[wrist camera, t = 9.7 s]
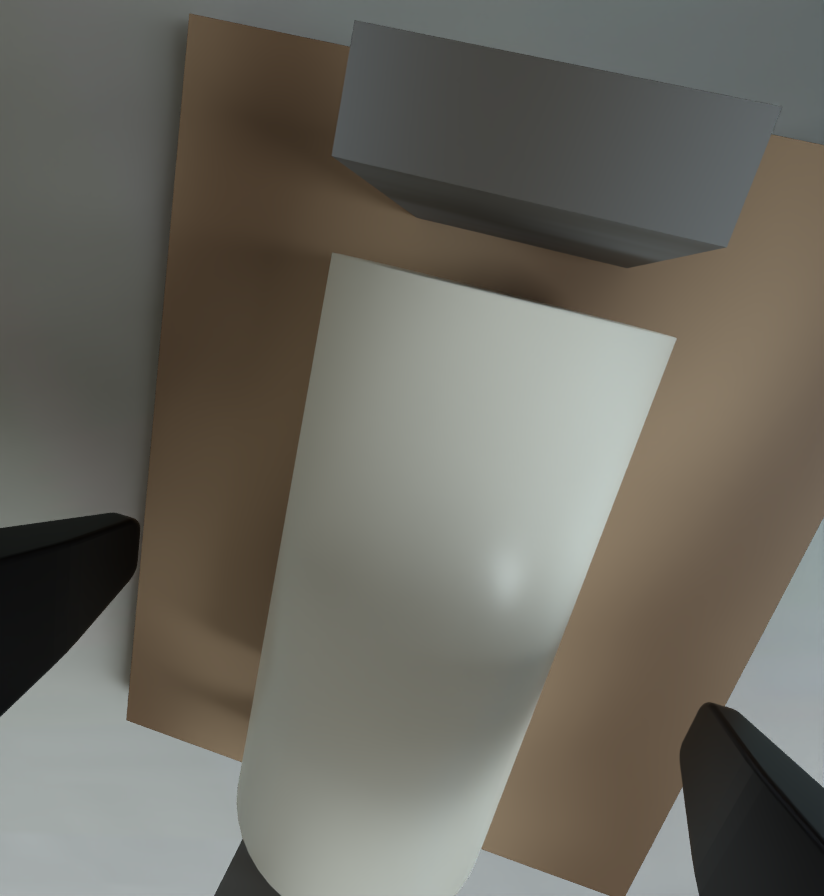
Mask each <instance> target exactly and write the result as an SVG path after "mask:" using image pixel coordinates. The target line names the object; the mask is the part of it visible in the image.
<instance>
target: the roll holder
mask: <svg viewBox="0 0 824 896" xmlns="http://www.w3.org/2000/svg"><path fill="white" fill-rule="evenodd" d="M781 109H782V107H781V106H777V105H772V104H767V103H762V102H757V101H752V100H747V99H742V98H737V97H732V96H727V95H722V94H717V93H712V92H707V91H702V90H697V89H692V88H687V87H682V86H678V85H673V84H668V83H663V82H658V81H653V80H648V79H643V78H638V77H633V76H628V75H623V74H618V73H613V72H608V71H603V70H598V69H593V68H588V67H583V66H578V65H574V64H569V63H564V62H559V61H554V60H549V59H544V58H539V57H534V56H529V55H524V54H519V53H514V52H509V51H504V50H499V49H494V48H489V47H484V46H479V45H475V44H470V43H465V42H460V41H455V40H450V39H445V38H440V37H435V36H430V35H425V34H420V33H415V32H410V31H405V30H400V29H395V28H390V27H385V26H380V25H375V24H371V23H366V22H361V21H356V20H355V21H354V27H353V33H352V39H351V45H350V47H348V46H344V45H339V44H334V43H329V42H324V41H320V40H315V39H310V38H305V37H300V36H295V35H291V34H286V33H281V32H276V31H271V30H267V29H262V28H257V27H252V26H247V25H242V24H238V23H233V22H228V21H223V20H218V19H214V18H209V17H204V16H199V15H194V14H189V23H188V34H187V46H186V57H185V68H184V79H183V91H182V102H181V113H180V124H179V135H178V147H177V158H176V169H175V180H174V191H173V203H172V214H171V225H170V236H169V248H168V259H167V270H166V281H165V292H164V304H163V315H162V326H161V337H160V348H159V360H158V371H157V382H156V393H155V405H154V416H153V427H152V438H151V449H150V461H149V472H148V483H147V494H146V505H145V517H144V528H143V539H142V550H141V561H140V573H139V584H138V595H137V606H136V618H135V629H134V640H133V651H132V662H131V674H130V685H129V696H128V707H127V718H126V720H127V721H130V722H133V723H136V724H138V725H141V726H144V727H147V728H149V729H152V730H155V731H158V732H160V733H163V734H166V735H169V736H171V737H174V738H177V739H180V740H182V741H185V742H188V743H191V744H193V745H196V746H199V747H202V748H204V749H207V750H210V751H213V752H215V753H218V754H221V755H224V756H226V757H229V758H232V759H235V760H237V761H240V762H242V760H243V754H244V749H245V743H246V737H247V732H248V726H249V720H250V715H251V709H252V703H253V698H254V692H255V686H256V681H257V675H258V669H259V664H260V658H261V652H262V647H263V641H264V635H265V630H266V624H267V618H268V613H269V607H270V601H271V596H272V590H273V584H274V579H275V573H276V567H277V562H278V556H279V550H280V545H281V539H282V533H283V528H284V522H285V516H286V511H287V505H288V499H289V494H290V488H291V483H292V477H293V471H294V466H295V460H296V454H297V449H298V443H299V437H300V432H301V426H302V420H303V415H304V409H305V403H306V398H307V392H308V386H309V381H310V375H311V369H312V364H313V358H314V352H315V347H316V341H317V335H318V330H319V324H320V318H321V313H322V307H323V301H324V296H325V290H326V284H327V279H328V273H329V267H330V262H331V256H332V253H338V254H342V255H347V256H352V257H356V258H360V259H365V260H369V261H373V262H378V263H382V264H386V265H390V266H395V267H399V268H403V269H407V270H412V271H416V272H420V273H424V274H428V275H432V276H436V277H441V278H445V279H449V280H453V281H457V282H461V283H465V284H469V285H473V286H477V287H481V288H485V289H490V290H494V291H498V292H502V293H506V294H510V295H514V296H518V297H522V298H526V299H530V300H534V301H538V302H542V303H546V304H550V305H554V306H558V307H562V308H566V309H570V310H574V311H577V312H581V313H585V314H589V315H593V316H597V317H601V318H605V319H609V320H613V321H617V322H620V323H624V324H628V325H632V326H636V327H639V328H643V329H647V330H651V331H654V332H658V333H662V334H665V335H669V336H672V337H675V338H677V339H676V342H675V344H674V347H673V350H672V352H671V355H670V357H669V360H668V363H667V365H666V368H665V371H664V373H663V376H662V378H661V381H660V384H659V386H658V389H657V391H656V394H655V397H654V399H653V402H652V404H651V407H650V410H649V412H648V415H647V417H646V420H645V423H644V425H643V428H642V431H641V433H640V436H639V438H638V441H637V444H636V446H635V449H634V451H633V454H632V457H631V459H630V462H629V464H628V467H627V470H626V472H625V475H624V477H623V480H622V483H621V485H620V488H619V491H618V493H617V496H616V498H615V501H614V504H613V506H612V509H611V511H610V514H609V517H608V519H607V522H606V524H605V527H604V530H603V532H602V535H601V538H600V540H599V543H598V545H597V548H596V551H595V553H594V556H593V558H592V561H591V564H590V566H589V569H588V571H587V574H586V577H585V579H584V582H583V584H582V587H581V590H580V592H579V595H578V598H577V600H576V603H575V605H574V608H573V611H572V613H571V616H570V618H569V621H568V624H567V626H566V629H565V631H564V634H563V637H562V639H561V642H560V644H559V647H558V650H557V652H556V655H555V658H554V660H553V663H552V665H551V668H550V671H549V673H548V676H547V678H546V681H545V684H544V686H543V689H542V691H541V694H540V697H539V699H538V702H537V705H536V707H535V710H534V712H533V715H532V718H531V720H530V723H529V725H528V728H527V731H526V733H525V736H524V738H523V741H522V744H521V746H520V749H519V751H518V754H517V757H516V759H515V762H514V765H513V767H512V770H511V772H510V775H509V778H508V780H507V783H506V785H505V788H504V791H503V793H502V796H501V798H500V801H499V804H498V806H497V809H496V811H495V814H494V817H493V819H492V822H491V825H490V827H489V830H488V832H487V835H486V838H485V840H484V843H483V845H482V848H481V849H483V850H485V851H488V852H491V853H494V854H496V855H499V856H502V857H505V858H507V859H510V860H513V861H516V862H518V863H521V864H524V865H527V866H529V867H532V868H535V869H538V870H540V871H543V872H546V873H549V874H551V875H554V876H557V877H560V878H562V879H565V880H568V881H571V882H573V883H576V884H579V885H582V886H584V887H587V888H590V889H593V890H595V891H598V892H601V893H604V894H606V895H609V896H625V895H626V893H627V892H628V890H629V888H630V886H631V884H632V882H633V880H634V878H635V876H636V874H637V872H638V871H639V869H640V867H641V865H642V863H643V861H644V859H645V857H646V855H647V853H648V851H649V850H650V848H651V846H652V844H653V842H654V840H655V838H656V836H657V834H658V832H659V830H660V829H661V827H662V825H663V823H664V821H665V819H666V817H667V815H668V813H669V811H670V809H671V808H672V806H673V804H674V802H675V800H676V798H677V796H678V794H679V792H680V790H681V788H682V787H683V785H682V777H681V770H680V761H679V754H680V748H681V744H682V742H683V740H684V738H685V736H686V734H687V732H688V730H689V728H690V726H691V724H692V722H693V720H694V718H695V716H696V714H697V712H698V710H699V709H700V707H701V706H702V705H703V704H704V703H707V702H712V703H715V704H719V705H722V706H725V704H726V703H727V701H728V699H729V697H730V695H731V693H732V691H733V689H734V687H735V685H736V683H737V682H738V680H739V678H740V676H741V674H742V672H743V670H744V668H745V666H746V664H747V662H748V661H749V659H750V657H751V655H752V653H753V651H754V649H755V647H756V645H757V643H758V641H759V640H760V638H761V636H762V634H763V632H764V630H765V628H766V626H767V624H768V622H769V620H770V619H771V617H772V615H773V613H774V611H775V609H776V607H777V605H778V603H779V601H780V599H781V598H782V596H783V594H784V592H785V590H786V588H787V586H788V584H789V582H790V580H791V578H792V577H793V575H794V573H795V571H796V569H797V567H798V565H799V563H800V561H801V559H802V557H803V556H804V554H805V552H806V550H807V548H808V546H809V544H810V542H811V540H812V538H813V537H814V535H815V533H816V531H817V529H818V527H819V525H820V523H821V521H822V519H823V517H824V145H820V144H816V143H811V142H806V141H801V140H796V139H792V138H787V137H782V136H777V135H772V131H773V129H774V126H775V124H776V121H777V119H778V116H779V114H780V111H781ZM214 896H281V895H280V894H279V893H278V892H277V891H276V890H275V889H274V888H272V887H271V886H270V884H269V883H268V882H267V881H266V879H265V878H264V877H263V875H262V874H261V873H260V872H259V870H258V869H257V867H256V865H255V864H254V862H253V860H252V858H251V857H250V855H249V853H248V850H247V848H246V845H245V843H244V840H243V839H242V841H241V843H240V845H239V847H238V849H237V851H236V853H235V855H234V857H233V859H232V861H231V863H230V865H229V867H228V869H227V871H226V873H225V875H224V877H223V879H222V881H221V883H220V885H219V887H218V889H217V891H216V893H215V895H214Z"/></svg>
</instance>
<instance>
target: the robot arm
mask: <svg viewBox="0 0 824 896" xmlns="http://www.w3.org/2000/svg"><path fill="white" fill-rule="evenodd" d="M139 539H140V525H139V522H138V521H137V520H136V519H134V518H131V517H128V516H125V515H121V514H118V513H105V514H98V515H91V516H84V517H77V518H70V519H62V520H55V521H48V522H41V523H34V524H27V525H19V526H12V527H5V528H0V717H1V716H2V715H3V714H4V713H5V712H6V711H7V710H8V709H9V708H10V707H11V706H12V705H13V704H14V703H15V702H16V701H17V700H18V699H19V698H20V697H21V696H22V695H24V694H25V693H26V692H27V691H28V690H29V689H30V688H31V687H32V686H33V685H34V684H35V683H36V682H37V681H38V680H39V679H40V678H41V677H42V676H43V675H44V674H45V673H46V672H48V671H49V670H50V669H51V668H52V667H53V666H54V665H55V664H56V663H57V662H58V661H59V660H60V659H61V658H62V657H63V656H64V655H65V654H66V653H67V652H68V651H69V649H70V648H71V647H72V646H73V645H74V644H75V643H76V642H77V641H78V640H79V638H80V637H81V636H82V635H83V634H84V633H85V631H86V630H87V629H88V628H89V627H90V626H91V625H92V623H93V622H94V621H95V620H96V619H97V618H98V616H99V615H100V614H101V613H102V612H103V611H104V609H105V608H106V607H107V606H108V605H109V604H110V602H111V601H112V600H113V599H114V598H115V597H116V596H117V594H118V593H119V592H120V591H121V590H122V589H123V587H124V586H125V585H126V584H127V583H128V582H129V580H130V579H131V578H132V576H133V574H134V572H135V570H136V567H137V562H138V550H139ZM679 761H680V770H681V777H682V785H683V793H684V800H685V808H686V815H687V823H688V831H689V838H690V846H691V854H692V860H693V866H694V872H695V878H696V882H697V887H698V892H699V896H824V788H823V787H822V786H821V785H820V784H819V783H818V782H817V781H815V780H814V779H813V778H812V777H811V776H810V775H809V774H808V773H806V772H805V771H804V770H803V769H802V768H801V767H800V766H799V765H797V764H796V763H795V762H794V761H793V760H792V759H791V758H790V757H789V756H787V755H786V754H785V753H784V752H783V751H782V750H781V749H780V748H778V747H777V746H776V745H775V744H774V743H773V742H772V741H771V740H769V739H768V738H767V737H766V736H765V735H764V734H763V733H762V732H761V731H759V730H758V729H757V728H756V727H755V726H754V725H753V724H752V723H750V722H749V721H748V720H747V719H746V718H745V717H744V716H743V715H742V714H740V713H739V712H738V711H736V710H734V709H731V708H728V707H725V706H722V705H719V704H715V703H712V702H707V703H704V704H703V705H702V706H701V707H700V709H699V710H698V712H697V714H696V716H695V718H694V720H693V722H692V724H691V726H690V728H689V730H688V732H687V734H686V736H685V738H684V740H683V742H682V744H681V748H680V754H679Z"/></svg>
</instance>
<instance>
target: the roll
mask: <svg viewBox="0 0 824 896" xmlns="http://www.w3.org/2000/svg"><path fill="white" fill-rule="evenodd" d="M676 339H677V338H675V337H672V336H669V335H665V334H662V333H658V332H654V331H651V330H647V329H643V328H639V327H636V326H632V325H628V324H624V323H620V322H617V321H613V320H609V319H605V318H601V317H597V316H593V315H589V314H585V313H581V312H577V311H574V310H570V309H566V308H562V307H558V306H554V305H550V304H546V303H542V302H538V301H534V300H530V299H526V298H522V297H518V296H514V295H510V294H506V293H502V292H498V291H494V290H490V289H485V288H481V287H477V286H473V285H469V284H465V283H461V282H457V281H453V280H449V279H445V278H441V277H436V276H432V275H428V274H424V273H420V272H416V271H412V270H407V269H403V268H399V267H395V266H390V265H386V264H382V263H378V262H373V261H369V260H365V259H360V258H356V257H352V256H347V255H342V254H338V253H332V256H331V262H330V267H329V273H328V279H327V284H326V290H325V296H324V301H323V307H322V313H321V318H320V324H319V330H318V335H317V341H316V347H315V352H314V358H313V364H312V369H311V375H310V381H309V386H308V392H307V398H306V403H305V409H304V415H303V420H302V426H301V432H300V437H299V443H298V449H297V454H296V460H295V466H294V471H293V477H292V483H291V488H290V494H289V499H288V505H287V511H286V516H285V522H284V528H283V533H282V539H281V545H280V550H279V556H278V562H277V567H276V573H275V579H274V584H273V590H272V596H271V601H270V607H269V613H268V618H267V624H266V630H265V635H264V641H263V647H262V652H261V658H260V664H259V669H258V675H257V681H256V686H255V692H254V698H253V703H252V709H251V715H250V720H249V726H248V732H247V737H246V743H245V749H244V754H243V760H242V766H241V771H240V777H239V783H238V790H237V812H238V821H239V826H240V830H241V834H242V838H243V840H244V843H245V845H246V848H247V850H248V853H249V855H250V857H251V858H252V860H253V862H254V864H255V865H256V867H257V869H258V870H259V872H260V873H261V874H262V875H263V877H264V878H265V879H266V881H267V882H268V883H269V884H270V886H271V887H272V888H274V889H275V890H276V891H277V892H278V893H279V894H280V895H281V896H455V895H456V894H457V893H458V892H459V891H460V889H461V888H462V886H463V885H464V884H465V882H466V881H467V879H468V878H469V876H470V874H471V872H472V870H473V868H474V866H475V864H476V861H477V858H478V856H479V853H480V851H481V848H482V845H483V843H484V840H485V838H486V835H487V832H488V830H489V827H490V825H491V822H492V819H493V817H494V814H495V811H496V809H497V806H498V804H499V801H500V798H501V796H502V793H503V791H504V788H505V785H506V783H507V780H508V778H509V775H510V772H511V770H512V767H513V765H514V762H515V759H516V757H517V754H518V751H519V749H520V746H521V744H522V741H523V738H524V736H525V733H526V731H527V728H528V725H529V723H530V720H531V718H532V715H533V712H534V710H535V707H536V705H537V702H538V699H539V697H540V694H541V691H542V689H543V686H544V684H545V681H546V678H547V676H548V673H549V671H550V668H551V665H552V663H553V660H554V658H555V655H556V652H557V650H558V647H559V644H560V642H561V639H562V637H563V634H564V631H565V629H566V626H567V624H568V621H569V618H570V616H571V613H572V611H573V608H574V605H575V603H576V600H577V598H578V595H579V592H580V590H581V587H582V584H583V582H584V579H585V577H586V574H587V571H588V569H589V566H590V564H591V561H592V558H593V556H594V553H595V551H596V548H597V545H598V543H599V540H600V538H601V535H602V532H603V530H604V527H605V524H606V522H607V519H608V517H609V514H610V511H611V509H612V506H613V504H614V501H615V498H616V496H617V493H618V491H619V488H620V485H621V483H622V480H623V477H624V475H625V472H626V470H627V467H628V464H629V462H630V459H631V457H632V454H633V451H634V449H635V446H636V444H637V441H638V438H639V436H640V433H641V431H642V428H643V425H644V423H645V420H646V417H647V415H648V412H649V410H650V407H651V404H652V402H653V399H654V397H655V394H656V391H657V389H658V386H659V384H660V381H661V378H662V376H663V373H664V371H665V368H666V365H667V363H668V360H669V357H670V355H671V352H672V350H673V347H674V344H675V342H676Z"/></svg>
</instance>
